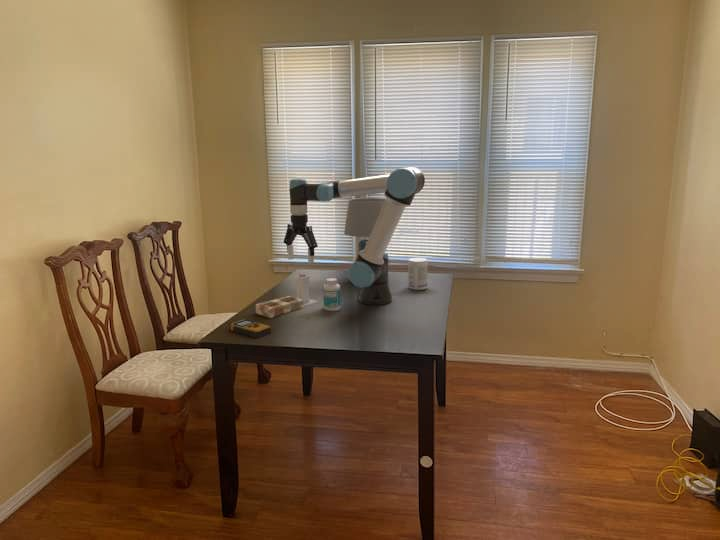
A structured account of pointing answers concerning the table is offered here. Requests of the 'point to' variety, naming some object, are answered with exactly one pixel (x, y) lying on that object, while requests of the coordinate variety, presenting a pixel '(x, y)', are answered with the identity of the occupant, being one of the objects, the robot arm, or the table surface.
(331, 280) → the pill bottle
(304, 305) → the mat
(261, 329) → the electronic device
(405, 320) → the table surface
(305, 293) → the plug
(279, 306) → the socket block
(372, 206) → the lamp
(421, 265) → the supplement tub
